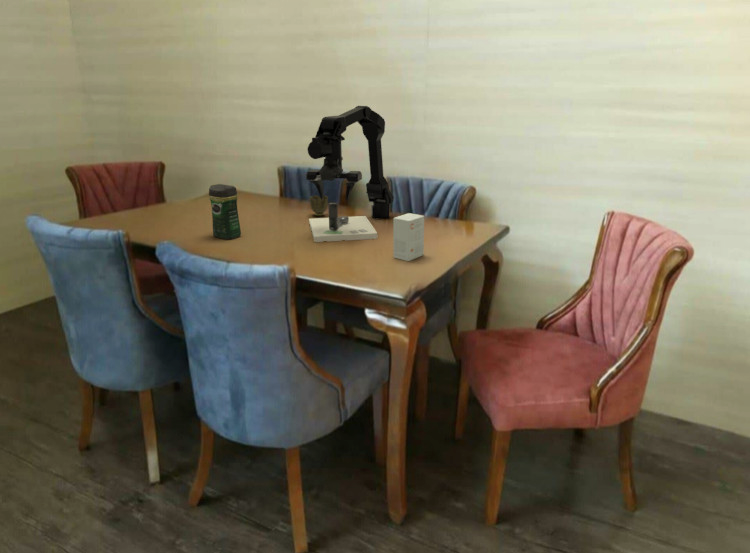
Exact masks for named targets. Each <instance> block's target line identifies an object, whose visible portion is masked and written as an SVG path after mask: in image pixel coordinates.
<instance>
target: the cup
mask: <svg viewBox="0 0 750 553" xmlns="http://www.w3.org/2000/svg"><path fill="white" fill-rule="evenodd" d="M309 203H310V208H311V210H312V212H314V215H315V217H317V216H318V217H317V218H322V217H324V215H325V212H326V211H327V209H328V204H329V196H327V195H326V194H324V197H323V200H321V197H320V196H319V194H317V195H316V194H314V195H310V196H309Z"/></svg>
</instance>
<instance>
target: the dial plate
mask: <svg viewBox="0 0 750 553" xmlns="http://www.w3.org/2000/svg"><path fill="white" fill-rule="evenodd" d="M348 217H349V222H348V223H343V224H341V225H340V226H338V229H337V230H330V229H329V217H317V218H316V217H315V218H308V224H310V225H309V228H310V231H312V232H311V234H312V238H313V242H314V243H323V241H327V242H341V241H342V240H345V241H359V240H362V241H363V240H376V239H377V240H378V232H377V231H376V229H375V227H374V226H373V225H372V223H371V222H370V221H369V219H368V217H367V216H366V215H358V216H357V215H356V216H355V215H354V216H348Z"/></svg>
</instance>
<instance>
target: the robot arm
mask: <svg viewBox="0 0 750 553" xmlns="http://www.w3.org/2000/svg"><path fill="white" fill-rule="evenodd" d="M356 123H358V124H359V125H360V127H361V130H362V135H364V137H365V139H366V140H367V146H368V148H367V150H368V160H369V169H370V178H369V180H368V182H366V184H365V186H366V194H367V195H366V196H367V197H368V198H367V199H368V202H370V203H372V205H371V206H370V209H371V210H370V211H371V215H370V216H371V217H372V218H373V219H374V220H383V219H384V220H387V219H391V216H390V204H393V202H394V198H395V197H394V194H392V192H391V190H390V187H389V186H390V185H389V182H388V181H387V180H386V178H385V176H384V167H383V166H384V165H383V164H384V163H383V162H384V161H383V151H382V149H383V148H382V138H383V136H384V134H385V128H386V122H385V118H384V117H382V116H381V115H380V114H379V113H378V112H376V111H374V110H373V109H372V108H371V107H369V106H368V105H357V106H355V107H354V108H351V109H349V110H347V111H346V112H344V113H340V114H339V115H330V116H329V115H328V116H324V117H323V118H322V119H321V122H320V123H319V126H318V129H317V132H316V134H315V137H311V142H309V144H308V146H307V154H308V156H309V157H310V158H311V159H313V160H317V159H318V160H319V159H322V158H324V159H323V165H322V166H321V167H320V169H316V168H315V169H314V168H312V169H309V170H308V171H306V174H305V180H306V181H309V183H313V185H314V186H315V188H316V189H317V192H318V196H319V197H321V200H323V197H324V195H325V194H324V181H331V182H332V181H334V180H336V179H344V180H345V179H346V180H347V181H346V182H345V186H346V191H345V192H346V193H345V199H346V202H348V201H349V200H350V196H351V194H352V190H353V188H354V186H355V184H356V183H358V182H360V181H361V180H363V174H362V171H360V170H349V171H348V172H347V173H346V172H344V168H343V162H342V161H344V158H343V156H342V154H343V153H342V152H343V151H342V141H345V140H346V139H345V137H344V136H343V135H342V134H343V133H345V132H346V131H347V127H349V126H351V125H353V124H356Z"/></svg>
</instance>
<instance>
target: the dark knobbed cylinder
mask: <svg viewBox="0 0 750 553" xmlns="http://www.w3.org/2000/svg"><path fill="white" fill-rule="evenodd" d="M327 209H328V210H327V211H328V218H329V229H330V230H337V229H338V226H340V225H341V224H343V223H348V222H349V217H350V216H345V215H341V216H338V214H339V212H338V211H339V210H338V203H336V202H328V204H327Z"/></svg>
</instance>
